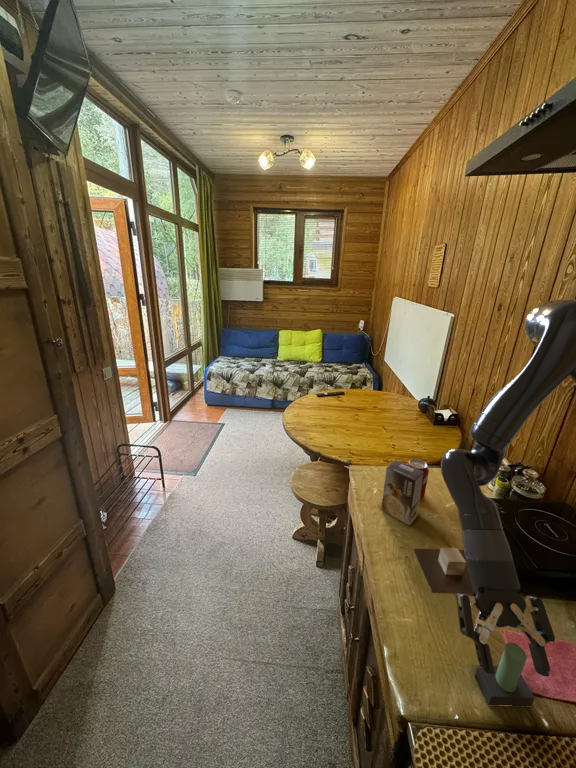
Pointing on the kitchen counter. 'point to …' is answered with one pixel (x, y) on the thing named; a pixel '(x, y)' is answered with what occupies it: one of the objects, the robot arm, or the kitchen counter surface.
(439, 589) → the board
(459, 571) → the beige cube
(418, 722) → the kitchen counter surface
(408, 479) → the coffee box
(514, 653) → the green post on base
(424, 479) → the soda can
